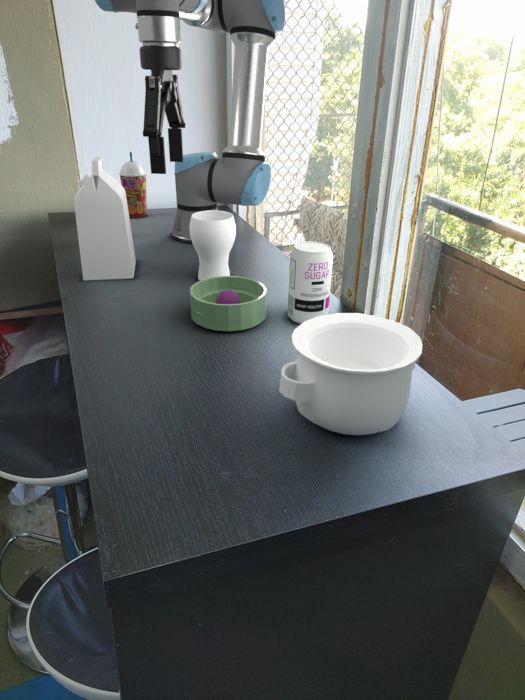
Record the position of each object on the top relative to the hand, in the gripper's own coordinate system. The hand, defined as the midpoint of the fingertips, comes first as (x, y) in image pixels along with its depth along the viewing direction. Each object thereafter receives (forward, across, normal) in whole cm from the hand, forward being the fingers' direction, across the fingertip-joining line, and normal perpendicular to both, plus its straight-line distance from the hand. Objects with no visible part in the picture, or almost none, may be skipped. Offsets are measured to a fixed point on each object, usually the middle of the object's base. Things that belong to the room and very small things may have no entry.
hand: (168, 167), depth 105 cm
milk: (+27, -10, -19) cm, 34 cm away
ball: (+26, +12, +14) cm, 32 cm away
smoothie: (+27, -61, -29) cm, 73 cm away
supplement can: (+27, +10, +30) cm, 42 cm away
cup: (+27, -9, +7) cm, 29 cm away
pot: (+27, +42, +37) cm, 62 cm away
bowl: (+27, +12, +14) cm, 32 cm away
